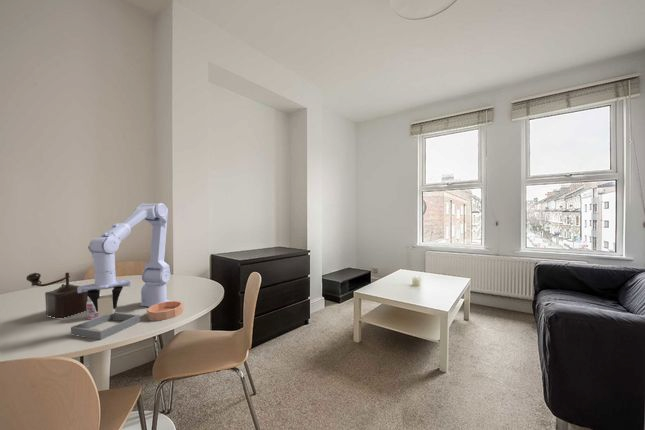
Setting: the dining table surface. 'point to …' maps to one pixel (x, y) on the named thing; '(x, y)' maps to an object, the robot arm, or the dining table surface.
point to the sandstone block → (105, 305)
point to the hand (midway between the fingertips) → (106, 309)
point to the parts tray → (97, 334)
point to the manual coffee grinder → (62, 297)
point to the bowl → (165, 310)
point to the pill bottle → (91, 310)
